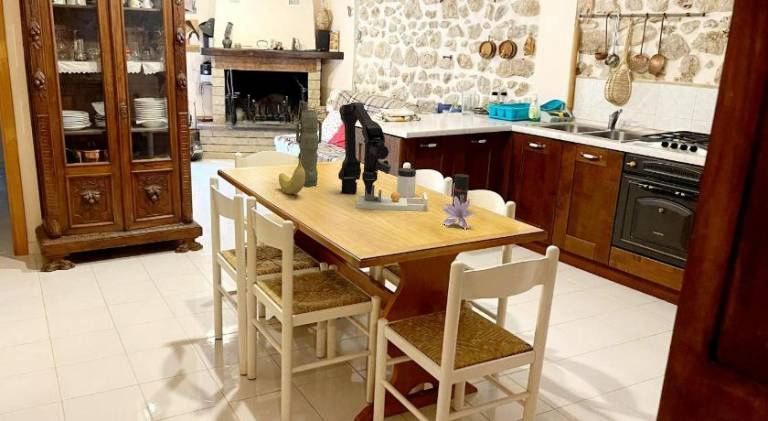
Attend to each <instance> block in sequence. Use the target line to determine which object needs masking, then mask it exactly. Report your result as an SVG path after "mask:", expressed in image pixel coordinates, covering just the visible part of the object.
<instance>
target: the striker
mask: <svg viewBox="0 0 768 421" xmlns="http://www.w3.org/2000/svg"><path fill="white" fill-rule="evenodd" d="M375 187H376V185H375V184H373V186H372V190H371V194H368V193H367V190H366V187H365V186H364V196H365V198H364V200H365V201H374V200H377V201H378V202H381V197H382V189H378V196H377V197H374V196H375V190H376V189H375Z"/></svg>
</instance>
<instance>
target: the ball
mask: <svg viewBox="0 0 768 421" xmlns="http://www.w3.org/2000/svg"><path fill="white" fill-rule="evenodd" d="M390 197H391V199H392V200H393V201H398V200H399V199H400V198H401V197H400V194H399V193H398V192H397V191H394V192H392V193H391V194H390Z"/></svg>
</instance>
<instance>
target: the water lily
mask: <svg viewBox="0 0 768 421" xmlns="http://www.w3.org/2000/svg"><path fill="white" fill-rule="evenodd" d="M470 204H471V199H470V198H469V199H467V201H466V202H465V203H462V204H461V205H460V202H459V199H458V198H457V197H456V196H455V197H454V206H455V207H454V206H453V205H452V203H444V208H441V212H443V213H444V214H446V215H448V217H447V218H446V219H445V220H444V221H443V222H442V223H441V225H442V224H445V225H444V226H450V225H453V224H454V223H456V222H458V225H459V226H460V227H461V228H462V227H463V228H467V229H468V223H467V221H466V218H471V217H473V216H474V217H475V213H474V212H472V211H471V212H467V209H468V208H469V206H470ZM463 228H462V229H463Z"/></svg>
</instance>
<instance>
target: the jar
mask: <svg viewBox="0 0 768 421" xmlns="http://www.w3.org/2000/svg"><path fill="white" fill-rule="evenodd" d="M416 176H417V171H416V169H415V168H410V167H401V168H398V169H397V178H396V180H397V181H396V183H397V184H396V192H398V193H399V194H400V198H407V197H408V198H416V197H415V196H416V195H415V194H416V182H417V181H416V180H417V179H416V178H417V177H416Z"/></svg>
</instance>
